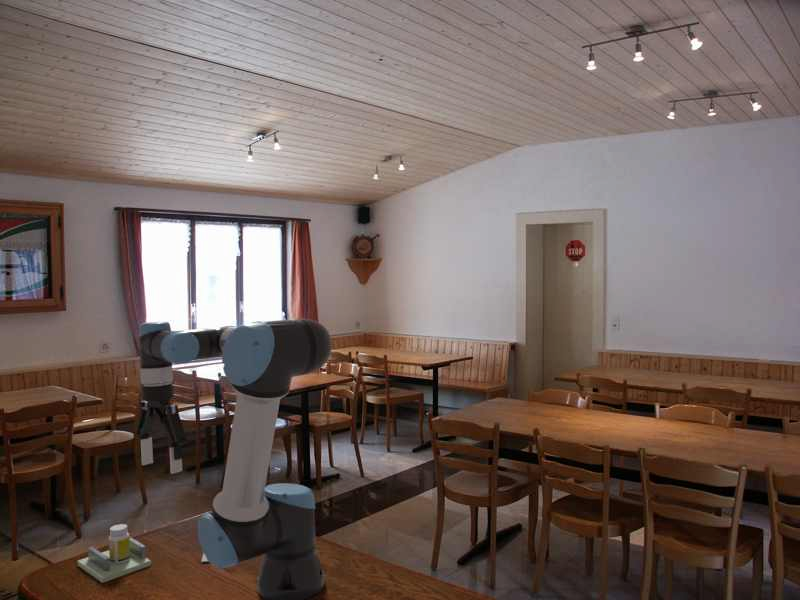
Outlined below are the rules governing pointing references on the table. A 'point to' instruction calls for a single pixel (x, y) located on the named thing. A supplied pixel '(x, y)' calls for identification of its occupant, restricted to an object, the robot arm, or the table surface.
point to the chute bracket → (104, 561)
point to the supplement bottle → (119, 544)
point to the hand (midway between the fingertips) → (161, 468)
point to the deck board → (114, 567)
